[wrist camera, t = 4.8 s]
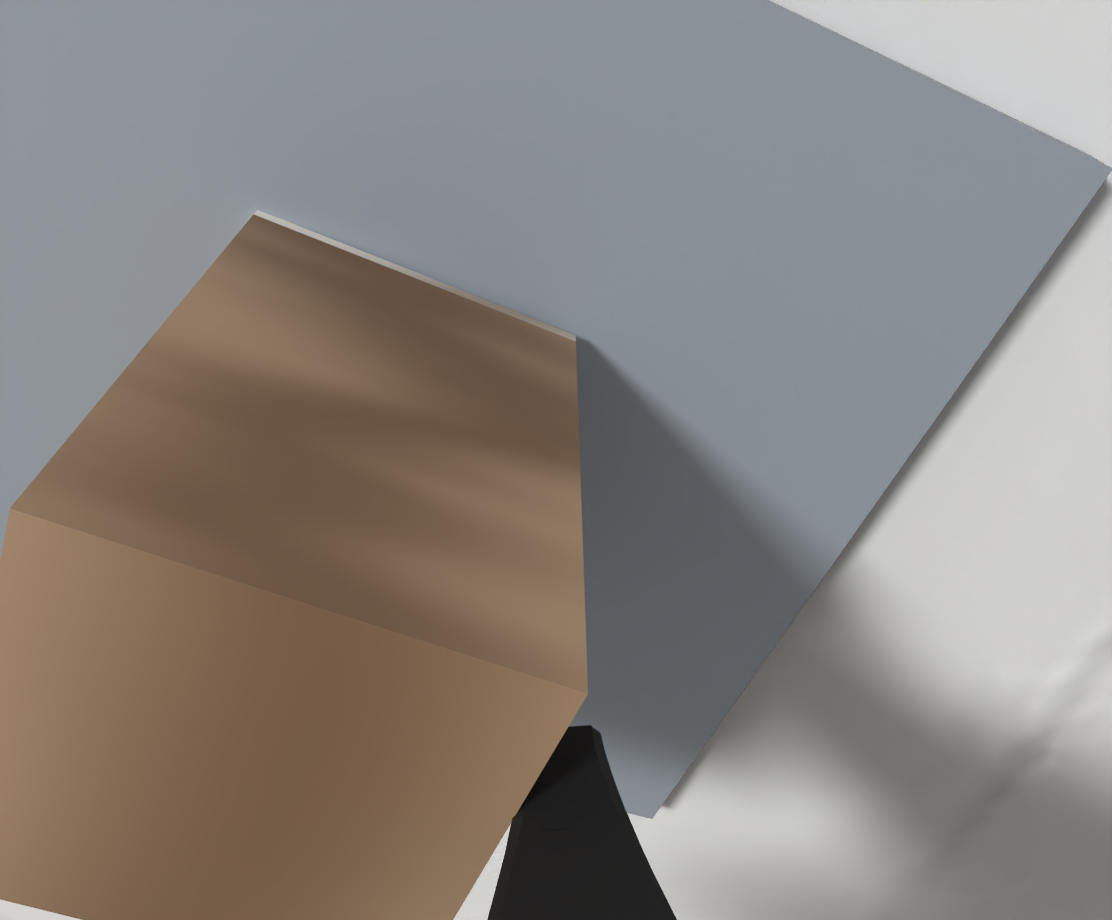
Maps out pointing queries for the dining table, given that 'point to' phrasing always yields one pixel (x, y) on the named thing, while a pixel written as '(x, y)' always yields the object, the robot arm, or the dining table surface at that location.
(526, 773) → the walnut block
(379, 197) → the light grey mat
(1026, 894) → the dining table surface
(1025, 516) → the dining table surface
